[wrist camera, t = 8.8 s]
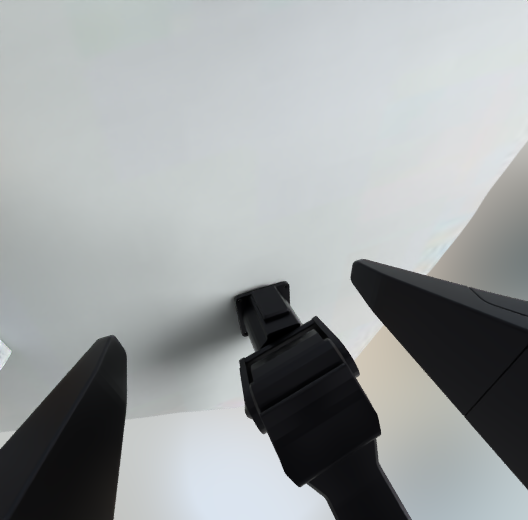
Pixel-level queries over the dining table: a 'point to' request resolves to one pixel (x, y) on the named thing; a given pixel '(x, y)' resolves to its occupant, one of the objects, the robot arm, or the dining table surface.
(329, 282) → the dining table surface
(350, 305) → the dining table surface
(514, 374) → the robot arm
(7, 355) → the syrup box
